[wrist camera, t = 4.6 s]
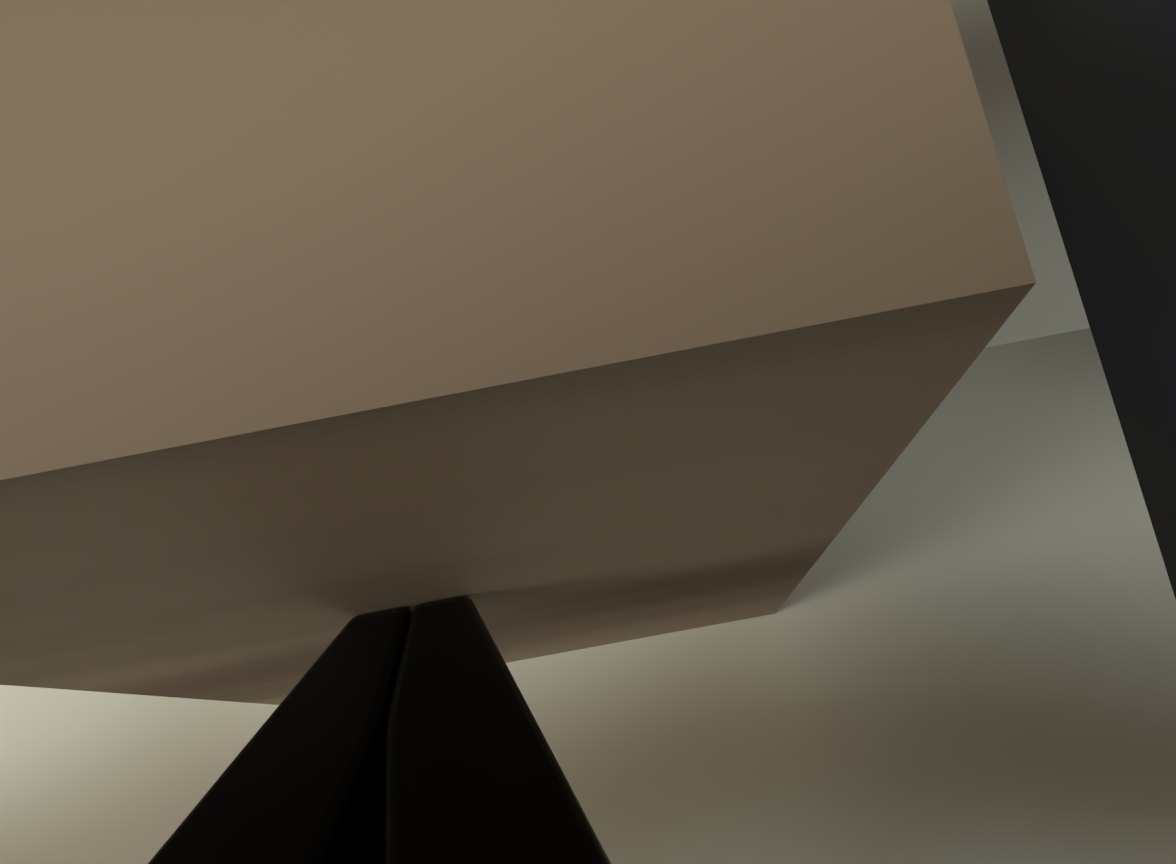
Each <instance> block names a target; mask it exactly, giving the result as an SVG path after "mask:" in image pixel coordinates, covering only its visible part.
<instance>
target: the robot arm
mask: <svg viewBox="0 0 1176 864" xmlns="http://www.w3.org/2000/svg"><path fill="white" fill-rule="evenodd" d="M148 864H611V862H610V860H609V858H608V856H607V854H606V852H605V851H604V849H603V847H602V845H601V843H600V841H599V839H598V837H597V835H596V834H595V832H594V830H593V828H592V826H591V824H590V822H589V820H588V818H587V816H586V815H585V813H584V811H583V809H582V807H581V805H580V803H579V801H578V799H577V798H576V796H575V794H574V792H573V790H572V788H571V786H570V784H569V782H568V780H567V779H566V777H565V775H564V773H563V771H562V769H561V767H560V765H559V763H558V761H557V760H556V758H555V756H554V754H553V752H552V750H551V748H550V746H549V744H548V743H547V741H546V739H545V737H544V735H543V733H542V731H541V729H540V727H539V725H538V724H537V722H536V720H535V718H534V716H533V714H532V712H531V710H530V708H529V707H528V705H527V703H526V701H525V699H524V697H523V695H522V693H521V691H520V689H519V688H518V686H517V684H516V682H515V680H514V678H513V676H512V674H511V672H510V670H509V669H508V667H507V665H506V663H505V661H504V659H503V657H502V655H501V653H500V652H499V650H498V648H497V646H496V644H495V642H494V640H493V638H492V636H491V634H490V633H489V631H488V629H487V627H486V625H485V623H484V621H483V619H482V617H481V616H480V614H479V612H478V610H477V608H476V606H475V604H474V602H473V601H472V599H470V598H469V597H467V596H457V597H452V598H447V599H442V600H436V601H431V602H426V603H421V604H419V605H417V606H416V607H415V608H414V609H413V611H411V610H410V609H408V608H406V607H399V608H393V609H388V610H382V611H377V612H371V613H366V614H361V615H357V616H355V617H354V618H352V619H351V620H350V621H349V622H348V623H347V624H346V625H345V626H344V628H343V629H342V630H341V631H340V632H339V634H338V635H337V636H336V637H335V639H334V640H333V641H332V642H331V643H330V645H329V646H328V647H327V648H326V649H325V651H324V652H323V653H322V654H321V655H320V657H319V658H318V659H317V660H316V661H315V663H314V664H313V665H312V666H311V667H310V669H309V670H308V671H307V672H306V673H305V675H304V676H303V677H302V678H301V679H300V681H299V682H298V683H297V684H296V685H295V687H294V688H293V689H292V690H291V691H290V693H289V694H288V695H287V696H286V698H285V699H284V700H283V701H282V702H281V704H280V705H279V706H278V707H277V708H276V710H275V711H274V712H273V713H272V714H271V716H270V717H269V718H268V719H267V720H266V722H265V723H264V724H263V725H262V726H261V728H260V729H259V730H258V731H257V732H256V734H255V735H254V736H253V737H252V738H251V740H250V741H249V742H248V743H247V744H246V746H245V747H244V748H243V749H242V750H241V752H240V753H239V754H238V755H237V756H236V758H235V759H234V760H233V761H232V763H231V764H230V765H229V766H228V767H227V769H226V770H225V771H224V772H223V773H222V775H221V776H220V777H219V778H218V779H217V781H216V782H215V783H214V784H213V785H212V787H211V788H210V789H209V790H208V791H207V793H206V794H205V795H204V796H203V797H202V799H201V800H200V801H199V802H198V803H197V805H196V806H195V807H194V808H193V809H192V811H191V812H190V813H189V814H188V815H187V817H186V818H185V819H184V820H183V822H182V823H181V824H180V825H179V826H178V828H177V829H176V830H175V831H174V832H173V834H172V835H171V836H170V837H169V838H168V840H167V841H166V842H165V843H164V844H163V846H162V847H161V848H160V849H159V850H158V852H157V853H156V854H155V855H154V856H153V858H152V859H151V860H150V861H149V862H148Z"/></svg>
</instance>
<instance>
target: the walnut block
mask: <svg viewBox="0 0 1176 864" xmlns="http://www.w3.org/2000/svg"><path fill="white" fill-rule="evenodd" d="M1035 283H1036V281H1035V277H1034V274H1033V271H1032V268H1031V264H1030V261H1029V258H1028V254H1027V251H1026V248H1025V245H1024V241H1023V238H1022V235H1021V232H1020V228H1019V225H1018V222H1017V218H1016V215H1015V212H1014V209H1013V205H1012V202H1011V199H1010V196H1009V192H1008V189H1007V186H1006V182H1005V179H1004V176H1003V173H1002V169H1001V166H1000V163H999V159H998V156H997V153H996V150H995V146H994V143H993V140H992V137H991V133H990V130H989V127H988V123H987V120H986V117H985V114H984V110H983V107H982V104H981V101H980V97H979V94H978V91H977V87H976V84H975V81H974V78H973V74H972V71H971V68H970V65H969V61H968V58H967V55H966V51H965V48H964V45H963V42H962V38H961V35H960V32H959V28H958V25H957V22H956V19H955V15H954V12H953V9H952V6H951V2H950V0H0V685H12V686H25V687H39V688H53V689H66V690H80V691H94V692H107V693H121V694H135V695H149V696H162V697H176V698H190V699H203V700H217V701H231V702H244V703H258V704H272V705H278V704H281V702H282V701H283V700H284V699H285V698H286V696H287V695H288V694H289V693H290V691H291V690H292V689H293V688H294V687H295V685H296V684H297V683H298V682H299V681H300V679H301V678H302V677H303V676H304V675H305V673H306V672H307V671H308V670H309V669H310V667H311V666H312V665H313V664H314V663H315V661H316V660H317V659H318V658H319V657H320V655H321V654H322V653H323V652H324V651H325V649H326V648H327V647H328V646H329V645H330V643H331V642H332V641H333V640H334V639H335V637H336V636H337V635H338V634H339V632H340V631H341V630H342V629H343V628H344V626H345V625H346V624H347V623H348V622H349V621H350V620H351V619H352V618H354V617H355V616H357V615H361V614H366V613H371V612H377V611H382V610H388V609H393V608H399V607H406V608H408V609H410V610H411V611H413V609H414V608H415V607H416V606H417V605H419V604H421V603H426V602H431V601H436V600H442V599H447V598H452V597H457V596H467V597H469V598H470V599H472V601H473V602H474V604H475V606H476V608H477V610H478V612H479V614H480V616H481V617H482V619H483V621H484V623H485V625H486V627H487V629H488V631H489V633H490V634H491V636H492V638H493V640H494V642H495V644H496V646H497V648H498V650H499V652H500V653H501V655H502V657H503V659H504V661H505V663H508V662H513V661H519V660H524V659H530V658H535V657H541V656H546V655H552V654H557V653H563V652H568V651H574V650H579V649H585V648H590V647H595V646H601V645H606V644H612V643H617V642H623V641H628V640H634V639H639V638H645V637H650V636H656V635H661V634H667V633H672V632H677V631H683V630H688V629H694V628H699V627H705V626H710V625H716V624H721V623H727V622H732V621H738V620H743V619H749V618H754V617H759V616H765V615H770V614H775V613H776V612H777V611H778V609H779V608H780V607H781V606H782V604H783V603H784V602H785V600H786V599H787V598H788V597H789V595H790V594H791V593H792V592H793V590H794V589H795V588H796V587H797V585H798V584H799V583H800V581H801V580H802V579H803V578H804V576H805V575H806V574H807V573H808V571H809V570H810V569H811V567H812V566H813V565H814V564H815V562H816V561H817V560H818V559H819V557H820V556H821V555H822V554H823V552H824V551H825V550H826V548H827V547H828V546H829V545H830V543H831V542H832V541H833V540H834V538H835V537H836V536H837V535H838V533H839V532H840V531H841V529H842V528H843V527H844V526H845V524H846V523H847V522H848V521H849V519H850V518H851V517H852V515H853V514H854V513H855V512H856V510H857V509H858V508H859V507H860V505H861V504H862V503H863V502H864V500H865V499H866V498H867V496H868V495H869V494H870V493H871V491H872V490H873V489H874V488H875V486H876V485H877V484H878V483H879V481H880V480H881V479H882V477H883V476H884V475H885V474H886V472H887V471H888V470H889V469H890V467H891V466H892V465H893V463H894V462H895V461H896V460H897V458H898V457H899V456H900V455H901V453H902V452H903V451H904V450H905V448H906V447H907V446H908V444H909V443H910V442H911V441H912V439H913V438H914V437H915V436H916V434H917V433H918V432H919V431H920V429H921V428H922V427H923V425H924V424H925V423H926V422H927V420H928V419H929V418H930V417H931V415H932V414H933V413H934V411H935V410H936V409H937V408H938V406H939V405H940V404H941V403H942V401H943V400H944V399H945V398H946V396H947V395H948V394H949V392H950V391H951V390H952V389H953V387H954V386H955V385H956V384H957V382H958V381H959V380H960V379H961V377H962V376H963V375H964V373H965V372H966V371H967V370H968V368H969V367H970V366H971V365H972V363H973V362H974V361H975V359H976V358H977V357H978V356H979V354H980V353H981V352H982V351H983V349H984V348H985V347H986V346H987V344H988V343H989V342H990V340H991V339H992V338H993V337H994V335H995V334H996V333H997V332H998V330H999V329H1000V328H1001V327H1002V325H1003V324H1004V323H1005V321H1006V320H1007V319H1008V318H1009V316H1010V315H1011V314H1012V313H1013V311H1014V310H1015V309H1016V307H1017V306H1018V305H1019V304H1020V302H1021V301H1022V300H1023V299H1024V297H1025V296H1026V295H1027V294H1028V292H1029V291H1030V290H1031V288H1032V287H1033V286H1034V285H1035Z"/></svg>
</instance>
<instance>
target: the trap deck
mask: <svg viewBox="0 0 1176 864" xmlns="http://www.w3.org/2000/svg"><path fill="white" fill-rule="evenodd" d="M950 2H951V6H952V9H953V12H954V15H955V19H956V22H957V25H958V28H959V32H960V35H961V38H962V42H963V45H964V48H965V51H966V55H967V58H968V61H969V65H970V68H971V71H972V74H973V78H974V81H975V84H976V87H977V91H978V94H979V97H980V101H981V104H982V107H983V110H984V114H985V117H986V120H987V123H988V127H989V130H990V133H991V137H992V140H993V143H994V146H995V150H996V153H997V156H998V159H999V163H1000V166H1001V169H1002V173H1003V176H1004V179H1005V182H1006V186H1007V189H1008V192H1009V196H1010V199H1011V202H1012V205H1013V209H1014V212H1015V215H1016V218H1017V222H1018V225H1019V228H1020V232H1021V235H1022V238H1023V241H1024V245H1025V248H1026V251H1027V254H1028V258H1029V261H1030V264H1031V268H1032V271H1033V274H1034V277H1035V281H1036V283H1035V285H1034V286H1033V287H1032V288H1031V290H1030V291H1029V292H1028V294H1027V295H1026V296H1025V297H1024V299H1023V300H1022V301H1021V302H1020V304H1019V305H1018V306H1017V307H1016V309H1015V310H1014V311H1013V313H1012V314H1011V315H1010V316H1009V318H1008V319H1007V320H1006V321H1005V323H1004V324H1003V325H1002V327H1001V328H1000V329H999V330H998V332H997V333H996V334H995V335H994V337H993V338H992V339H991V340H990V342H989V343H988V344H987V346H986V347H985V348H984V349H983V351H982V352H981V353H980V354H979V356H978V357H977V358H976V359H975V361H974V362H973V363H972V365H971V366H970V367H969V368H968V370H967V371H966V372H965V373H964V375H963V376H962V377H961V379H960V380H959V381H958V382H957V384H956V385H955V386H954V387H953V389H952V390H951V391H950V392H949V394H948V395H947V396H946V398H945V399H944V400H943V401H942V403H941V404H940V405H939V406H938V408H937V409H936V410H935V411H934V413H933V414H932V415H931V417H930V418H929V419H928V420H927V422H926V423H925V424H924V425H923V427H922V428H921V429H920V431H919V432H918V433H917V434H916V436H915V437H914V438H913V439H912V441H911V442H910V443H909V444H908V446H907V447H906V448H905V450H904V451H903V452H902V453H901V455H900V456H899V457H898V458H897V460H896V461H895V462H894V463H893V465H892V466H891V467H890V469H889V470H888V471H887V472H886V474H885V475H884V476H883V477H882V479H881V480H880V481H879V483H878V484H877V485H876V486H875V488H874V489H873V490H872V491H871V493H870V494H869V495H868V496H867V498H866V499H865V500H864V502H863V503H862V504H861V505H860V507H859V508H858V509H857V510H856V512H855V513H854V514H853V515H852V517H851V518H850V519H849V521H848V522H847V523H846V524H845V526H844V527H843V528H842V529H841V531H840V532H839V533H838V535H837V536H836V537H835V538H834V540H833V541H832V542H831V543H830V545H829V546H828V547H827V548H826V550H825V551H824V552H823V554H822V555H821V556H820V557H819V559H818V560H817V561H816V562H815V564H814V565H813V566H812V567H811V569H810V570H809V571H808V573H807V574H806V575H805V576H804V578H803V579H802V580H801V581H800V583H799V584H798V585H797V587H796V588H795V589H794V590H793V592H792V593H791V594H790V595H789V597H788V598H787V599H786V600H785V602H784V603H783V604H782V606H781V607H780V608H779V609H778V611H777V612H776V613H775V614H770V615H765V616H759V617H754V618H749V619H743V620H738V621H732V622H727V623H721V624H716V625H710V626H705V627H699V628H694V629H688V630H683V631H677V632H672V633H667V634H661V635H656V636H650V637H645V638H639V639H634V640H628V641H623V642H617V643H612V644H606V645H601V646H595V647H590V648H585V649H579V650H574V651H568V652H563V653H557V654H552V655H546V656H541V657H535V658H530V659H524V660H519V661H513V662H508V663H506V665H507V667H508V669H509V670H510V672H511V674H512V676H513V678H514V680H515V682H516V684H517V686H518V688H519V689H520V691H521V693H522V695H523V697H524V699H525V701H526V703H527V705H528V707H529V708H530V710H531V712H532V714H533V716H534V718H535V720H536V722H537V724H538V725H539V727H540V729H541V731H542V733H543V735H544V737H545V739H546V741H547V743H548V744H549V746H550V748H551V750H552V752H553V754H554V756H555V758H556V760H557V761H558V763H559V765H560V767H561V769H562V771H563V773H564V775H565V777H566V779H567V780H568V782H569V784H570V786H571V788H572V790H573V792H574V794H575V796H576V798H577V799H578V801H579V803H580V805H581V807H582V809H583V811H584V813H585V815H586V816H587V818H588V820H589V822H590V824H591V826H592V828H593V830H594V832H595V834H596V835H597V837H598V839H599V841H600V843H601V845H602V847H603V849H604V851H605V852H606V854H607V856H608V858H609V860H610V862H611V864H1176V599H1175V596H1174V593H1173V590H1172V586H1171V583H1170V580H1169V577H1168V574H1167V571H1166V567H1165V564H1164V561H1163V558H1162V555H1161V552H1160V548H1159V545H1158V542H1157V539H1156V536H1155V532H1154V529H1153V526H1152V523H1151V520H1150V517H1149V513H1148V510H1147V507H1146V504H1145V501H1144V498H1143V494H1142V491H1141V488H1140V485H1139V482H1138V478H1137V475H1136V472H1135V469H1134V466H1133V463H1132V459H1131V456H1130V453H1129V450H1128V447H1127V444H1126V440H1125V437H1124V434H1123V431H1122V428H1121V424H1120V421H1119V418H1118V415H1117V412H1116V409H1115V405H1114V402H1113V399H1112V396H1111V393H1110V389H1109V386H1108V383H1107V380H1106V377H1105V374H1104V370H1103V367H1102V364H1101V361H1100V358H1099V355H1098V351H1097V348H1096V345H1095V342H1094V339H1093V335H1092V332H1091V329H1090V326H1089V323H1088V320H1087V316H1086V313H1085V310H1084V307H1083V304H1082V301H1081V297H1080V294H1079V291H1078V288H1077V285H1076V281H1075V278H1074V275H1073V272H1072V269H1071V266H1070V262H1069V259H1068V256H1067V253H1066V250H1065V247H1064V243H1063V240H1062V237H1061V234H1060V231H1059V227H1058V224H1057V221H1056V218H1055V215H1054V212H1053V208H1052V205H1051V202H1050V199H1049V196H1048V192H1047V189H1046V186H1045V183H1044V180H1043V177H1042V173H1041V170H1040V167H1039V164H1038V161H1037V158H1036V154H1035V151H1034V148H1033V145H1032V142H1031V138H1030V135H1029V132H1028V129H1027V126H1026V123H1025V119H1024V116H1023V113H1022V110H1021V107H1020V104H1019V100H1018V97H1017V94H1016V91H1015V88H1014V84H1013V81H1012V78H1011V75H1010V72H1009V69H1008V65H1007V62H1006V59H1005V56H1004V53H1003V50H1002V46H1001V43H1000V40H999V37H998V34H997V30H996V27H995V24H994V21H993V18H992V15H991V11H990V8H989V5H988V2H987V0H950ZM279 705H280V704H278V705H272V704H258V703H244V702H231V701H217V700H203V699H190V698H176V697H162V696H149V695H135V694H121V693H107V692H94V691H80V690H66V689H53V688H39V687H25V686H12V685H0V864H148V862H149V861H150V860H151V859H152V858H153V856H154V855H155V854H156V853H157V852H158V850H159V849H160V848H161V847H162V846H163V844H164V843H165V842H166V841H167V840H168V838H169V837H170V836H171V835H172V834H173V832H174V831H175V830H176V829H177V828H178V826H179V825H180V824H181V823H182V822H183V820H184V819H185V818H186V817H187V815H188V814H189V813H190V812H191V811H192V809H193V808H194V807H195V806H196V805H197V803H198V802H199V801H200V800H201V799H202V797H203V796H204V795H205V794H206V793H207V791H208V790H209V789H210V788H211V787H212V785H213V784H214V783H215V782H216V781H217V779H218V778H219V777H220V776H221V775H222V773H223V772H224V771H225V770H226V769H227V767H228V766H229V765H230V764H231V763H232V761H233V760H234V759H235V758H236V756H237V755H238V754H239V753H240V752H241V750H242V749H243V748H244V747H245V746H246V744H247V743H248V742H249V741H250V740H251V738H252V737H253V736H254V735H255V734H256V732H257V731H258V730H259V729H260V728H261V726H262V725H263V724H264V723H265V722H266V720H267V719H268V718H269V717H270V716H271V714H272V713H273V712H274V711H275V710H276V708H277V707H278V706H279Z"/></svg>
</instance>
